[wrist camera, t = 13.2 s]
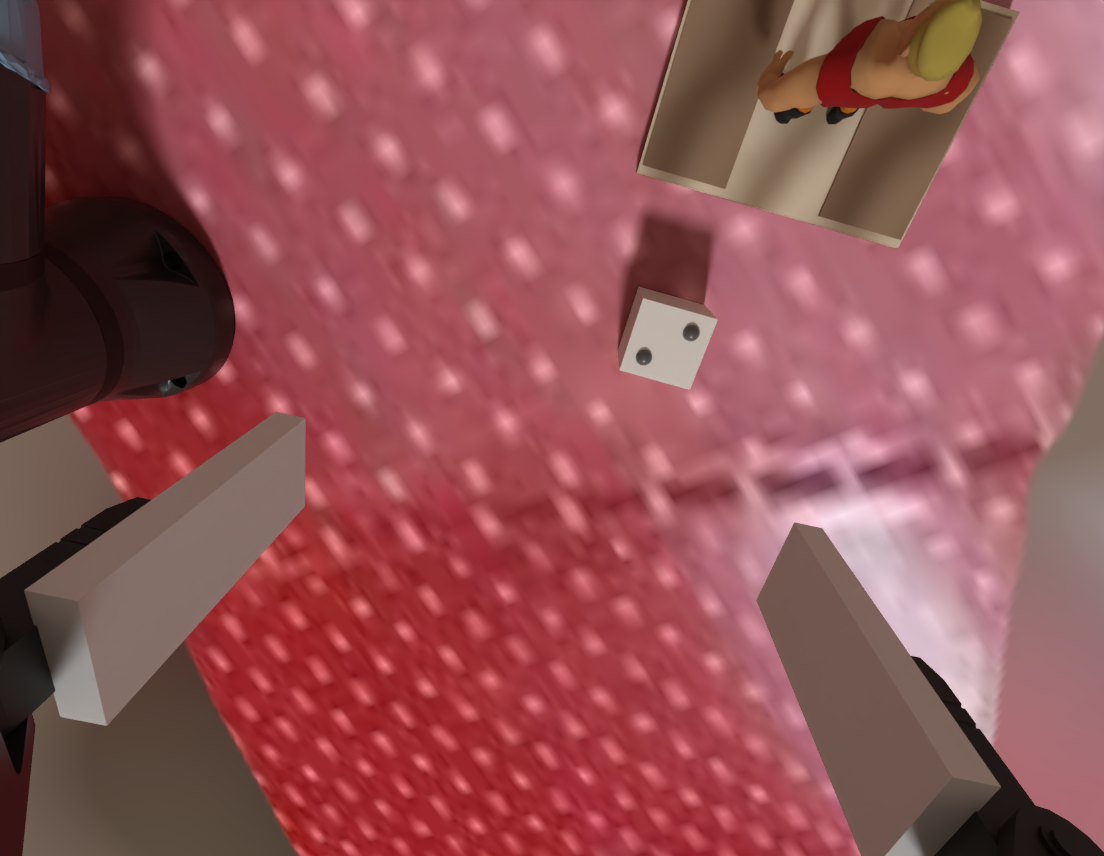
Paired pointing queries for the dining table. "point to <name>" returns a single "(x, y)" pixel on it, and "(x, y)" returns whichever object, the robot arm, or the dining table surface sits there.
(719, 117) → the board
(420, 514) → the dining table surface
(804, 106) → the action figure
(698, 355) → the die
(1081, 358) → the dining table surface
